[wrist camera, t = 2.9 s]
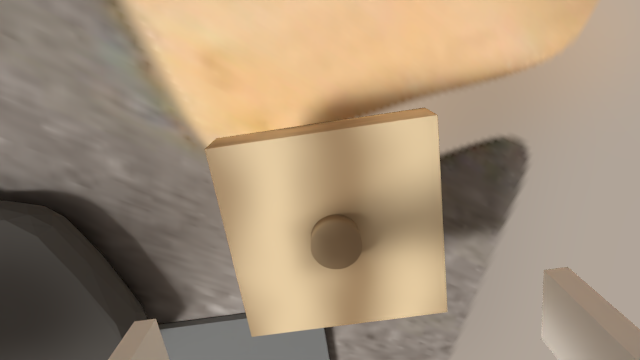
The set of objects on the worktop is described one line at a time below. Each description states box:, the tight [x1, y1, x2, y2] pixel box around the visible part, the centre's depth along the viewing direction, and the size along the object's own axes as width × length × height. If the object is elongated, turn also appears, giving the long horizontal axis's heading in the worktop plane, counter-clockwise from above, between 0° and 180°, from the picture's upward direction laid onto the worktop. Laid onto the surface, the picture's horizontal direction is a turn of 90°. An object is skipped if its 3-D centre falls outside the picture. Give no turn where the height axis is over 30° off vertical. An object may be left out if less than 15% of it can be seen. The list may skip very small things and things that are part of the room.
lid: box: [205, 108, 447, 337], centre depth 20 cm, size 10×10×3 cm
